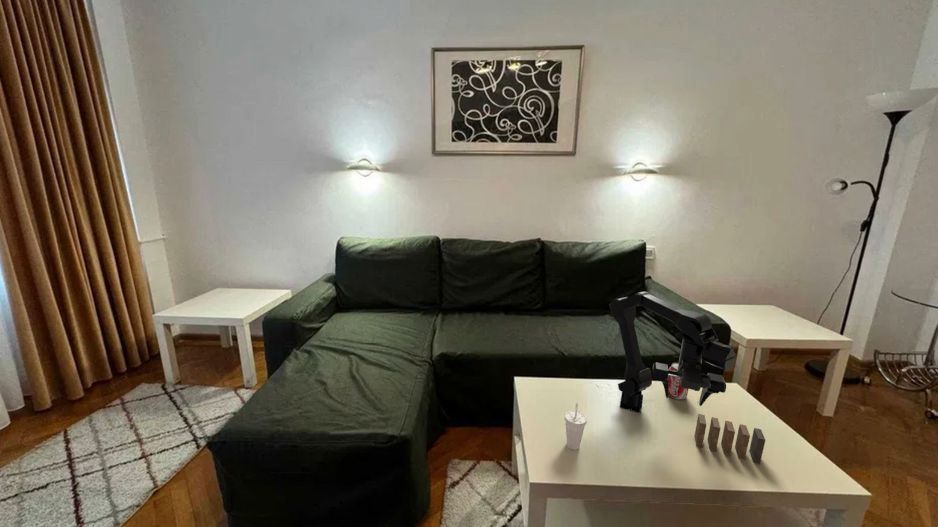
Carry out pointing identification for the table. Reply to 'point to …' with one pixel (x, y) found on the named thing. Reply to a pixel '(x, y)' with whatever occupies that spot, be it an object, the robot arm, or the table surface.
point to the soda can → (676, 385)
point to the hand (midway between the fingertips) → (683, 401)
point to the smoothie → (574, 428)
